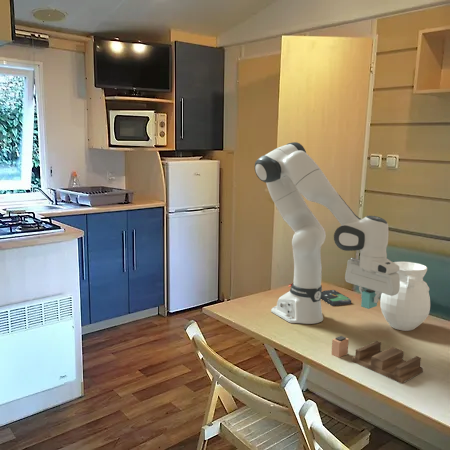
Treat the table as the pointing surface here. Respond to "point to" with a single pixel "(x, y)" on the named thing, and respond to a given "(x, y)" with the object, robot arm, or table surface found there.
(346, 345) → the orange rectangular block
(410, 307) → the pitcher
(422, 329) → the table surface
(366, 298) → the teal box with panel
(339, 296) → the disk drive
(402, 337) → the table surface
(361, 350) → the brown slotted tray
